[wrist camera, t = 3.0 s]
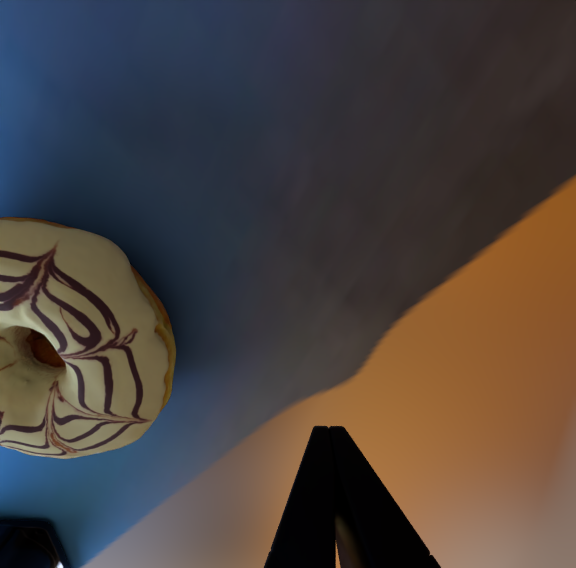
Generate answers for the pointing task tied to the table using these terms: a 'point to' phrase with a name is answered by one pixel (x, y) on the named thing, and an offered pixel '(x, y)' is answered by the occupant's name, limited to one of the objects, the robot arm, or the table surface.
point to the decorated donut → (77, 343)
